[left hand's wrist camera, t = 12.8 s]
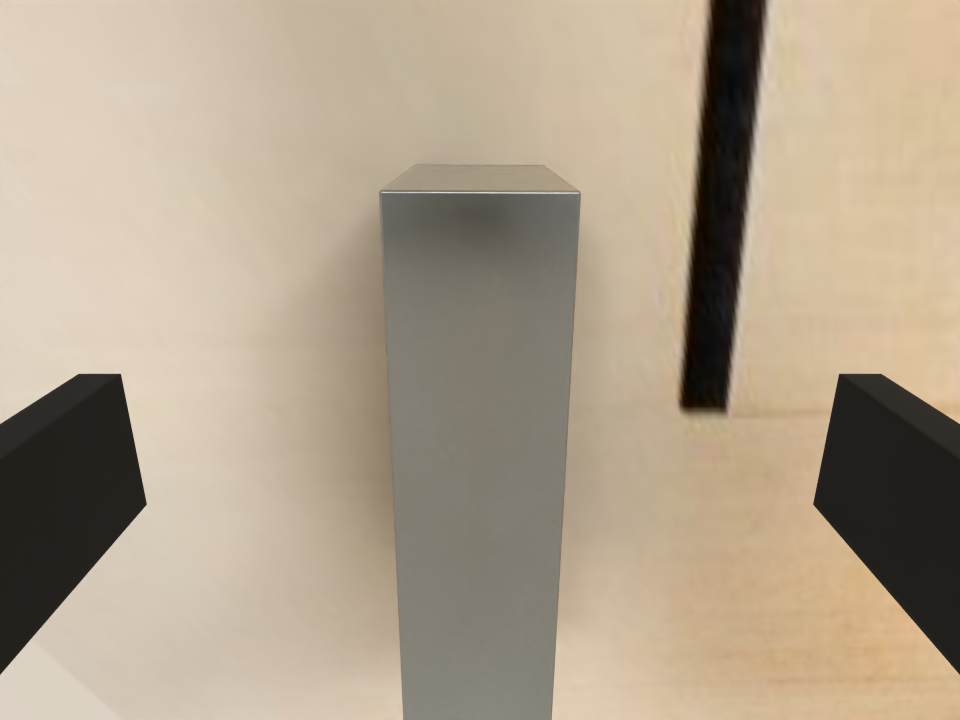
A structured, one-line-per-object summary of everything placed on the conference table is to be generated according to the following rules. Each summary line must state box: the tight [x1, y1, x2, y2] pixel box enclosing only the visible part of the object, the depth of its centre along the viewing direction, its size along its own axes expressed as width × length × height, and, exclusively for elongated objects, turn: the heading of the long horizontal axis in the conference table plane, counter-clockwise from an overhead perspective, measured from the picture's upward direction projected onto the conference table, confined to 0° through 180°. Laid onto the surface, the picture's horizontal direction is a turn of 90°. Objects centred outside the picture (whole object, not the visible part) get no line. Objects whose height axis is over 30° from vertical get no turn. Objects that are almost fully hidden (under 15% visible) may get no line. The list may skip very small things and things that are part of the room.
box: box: [379, 165, 581, 720], centre depth 29 cm, size 21×6×11 cm, turn 0°
